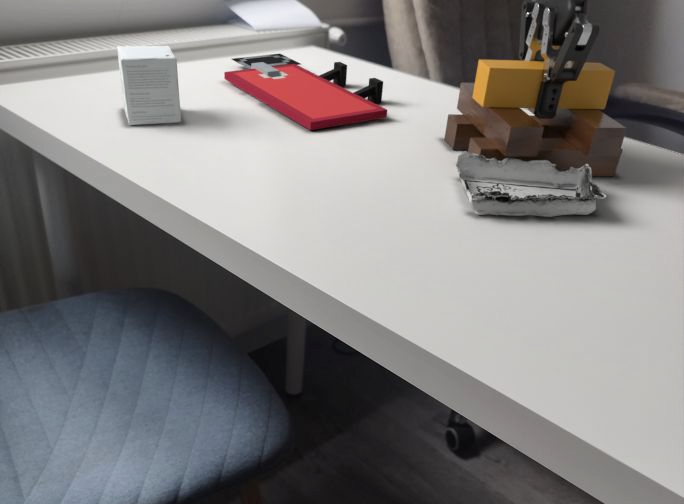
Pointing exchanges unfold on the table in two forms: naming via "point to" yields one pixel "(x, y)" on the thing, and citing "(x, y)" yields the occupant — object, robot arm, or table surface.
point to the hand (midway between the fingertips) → (536, 111)
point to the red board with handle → (307, 91)
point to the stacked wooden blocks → (536, 135)
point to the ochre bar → (538, 85)
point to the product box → (149, 84)
